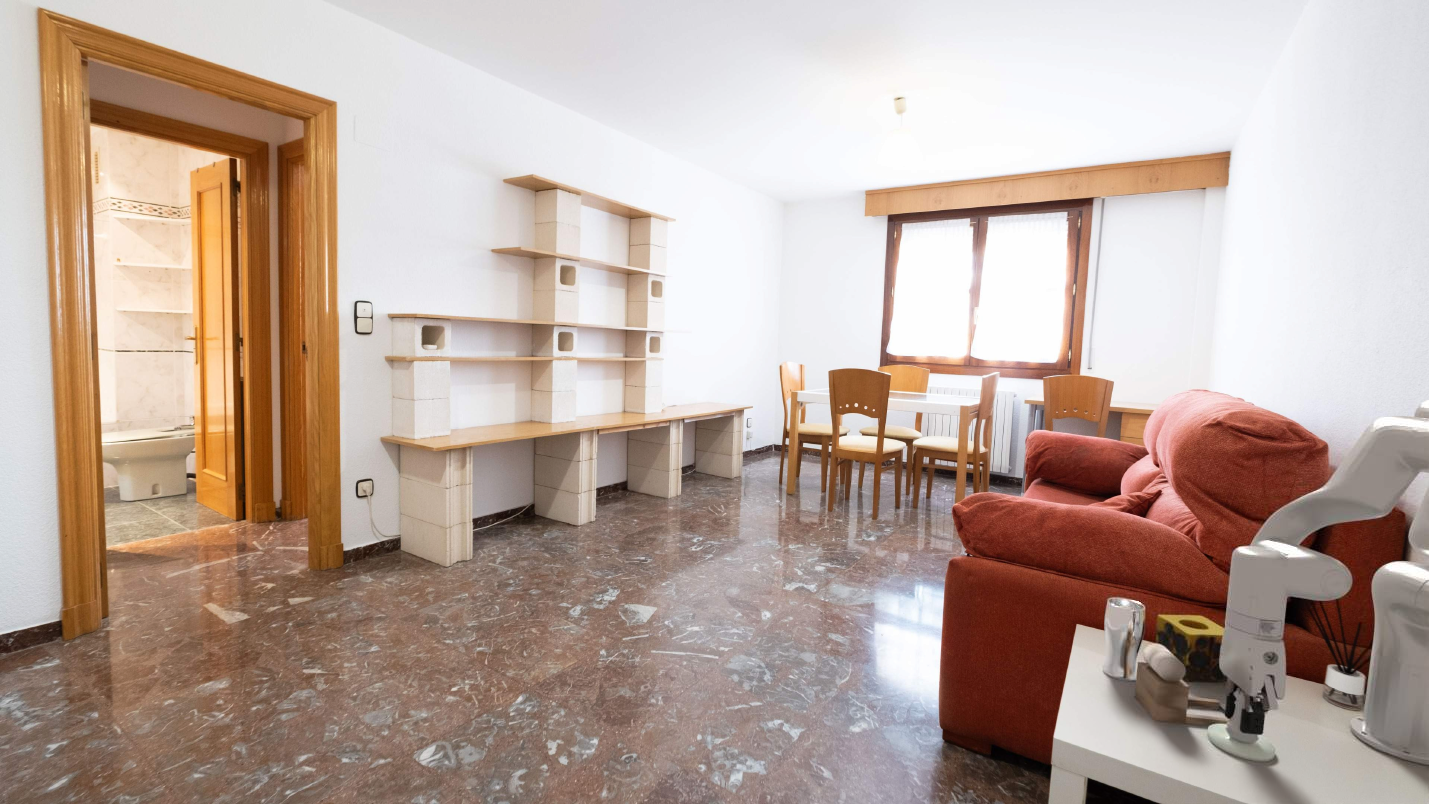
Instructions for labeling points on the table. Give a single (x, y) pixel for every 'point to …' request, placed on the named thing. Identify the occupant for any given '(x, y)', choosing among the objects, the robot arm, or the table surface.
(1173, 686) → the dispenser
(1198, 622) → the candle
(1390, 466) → the robot arm
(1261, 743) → the pale green round disc
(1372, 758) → the table surface
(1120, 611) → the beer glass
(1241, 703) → the rook chess piece
